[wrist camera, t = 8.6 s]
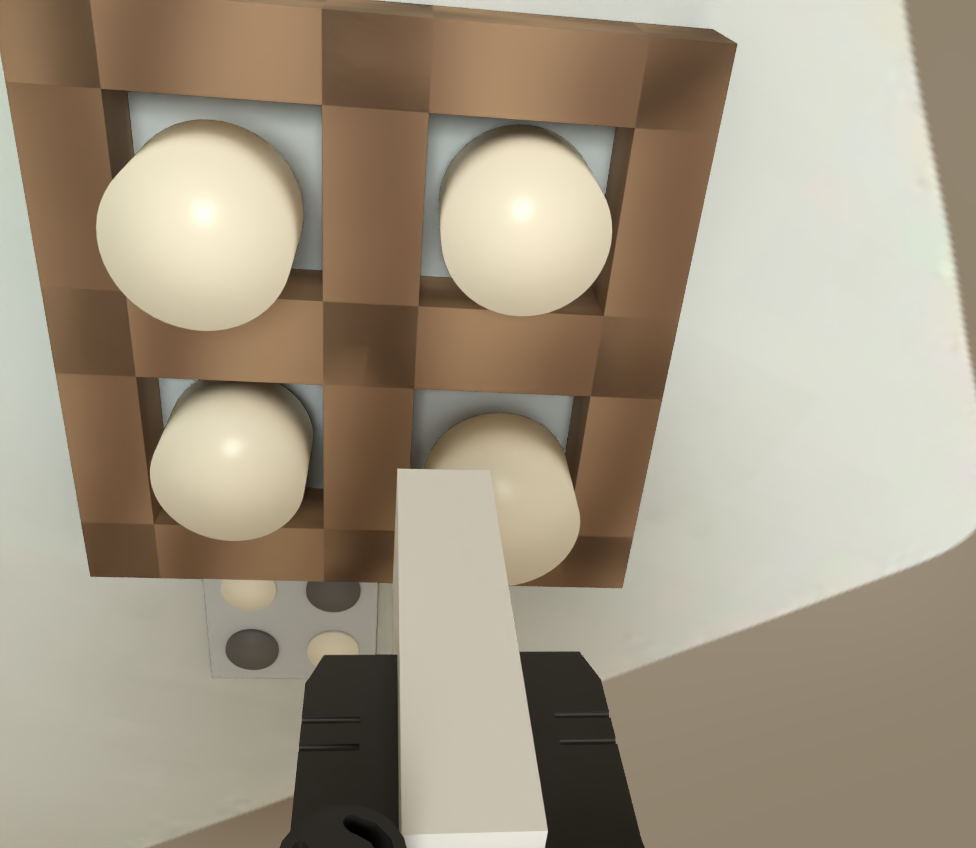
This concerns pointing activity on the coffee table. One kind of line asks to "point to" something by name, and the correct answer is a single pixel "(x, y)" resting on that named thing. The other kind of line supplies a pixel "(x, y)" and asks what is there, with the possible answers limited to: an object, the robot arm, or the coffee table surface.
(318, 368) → the board
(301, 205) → the button front left
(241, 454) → the button back left
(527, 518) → the button back right
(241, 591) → the card
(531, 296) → the button front right
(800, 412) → the coffee table surface
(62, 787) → the coffee table surface
